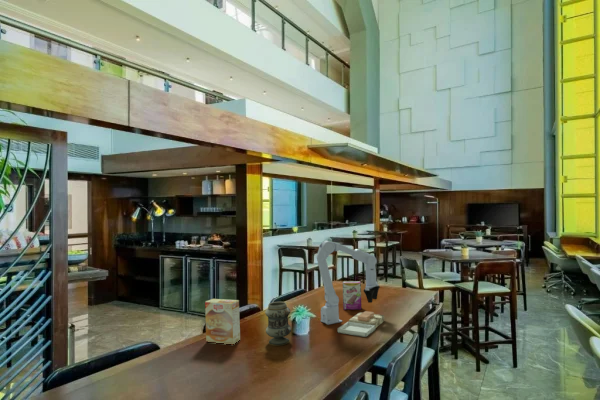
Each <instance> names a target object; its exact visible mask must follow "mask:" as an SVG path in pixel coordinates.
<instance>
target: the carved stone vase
mask: <svg viewBox="0 0 600 400" xmlns="http://www.w3.org/2000/svg"><path fill="white" fill-rule="evenodd" d="M264 313H265V315H266V317H267V322H268V325H267V327H266V328H265V333H266V335H268V336H269V337H270V339H269V341H268V344H269V345H270V346H273V347H274V346H277V347H278V346H279V347H280V346H284V345H287V344H289V343H290V339H289V338H288V337H287V336H288V335H290V334H291V332H292V326H291V325H290V324H289V315H290V314H291V309H290V308H289V307H288V306H287V303H286V302H285V301H274V302H269V303H268V307H267V308H266V310H265V311H264Z"/></svg>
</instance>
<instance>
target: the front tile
mask: <svg viewBox="0 0 600 400" xmlns="http://www.w3.org/2000/svg"><path fill="white" fill-rule="evenodd" d="M369 319H370V315H367V314H360V315H359V316H358V320H361V321H368V320H369Z"/></svg>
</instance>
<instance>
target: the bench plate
mask: <svg viewBox="0 0 600 400" xmlns="http://www.w3.org/2000/svg"><path fill="white" fill-rule="evenodd" d="M362 313H363V312H361V311H360V312H358V313H357V314H355V315H354V316H353V317H350V319H348V322H355V323H362V324H370V325H375V329H376V328H378V327H379V326H380V325H381V324H383V322H385V315H384V314H377V313H374V316H373V317H372V318H370V319H369V320H368V321H361V320H358V316H359V315H360V314H362Z"/></svg>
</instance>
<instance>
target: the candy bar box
mask: <svg viewBox="0 0 600 400" xmlns="http://www.w3.org/2000/svg"><path fill="white" fill-rule="evenodd" d="M342 306H343V307H342V309H343V310H344V311H346V310H347V311H348V310H352V311H353V310H354V311H355V310H357V311H359V310H360V311H361V310H362V283H361V281H360V280H359V281H358V280H357V281H355V280H354V281H351V280H349V281H348V280H347V281H345V280H344V281H342Z"/></svg>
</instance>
